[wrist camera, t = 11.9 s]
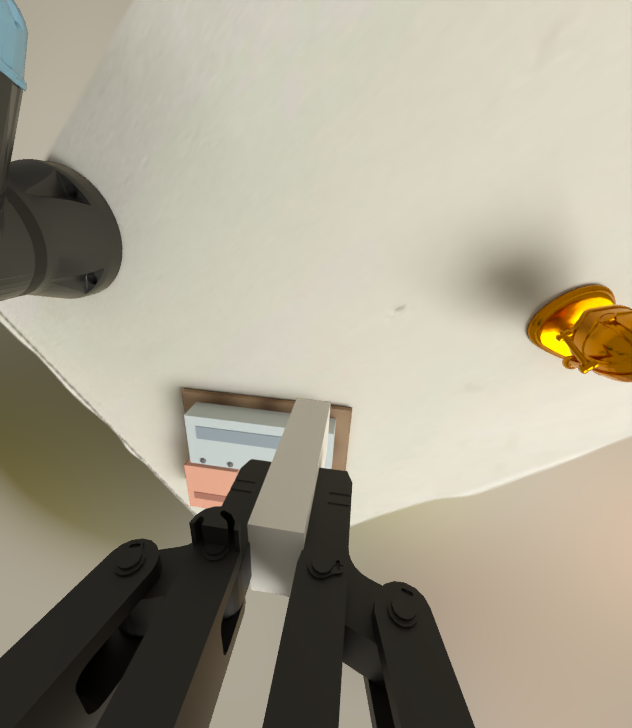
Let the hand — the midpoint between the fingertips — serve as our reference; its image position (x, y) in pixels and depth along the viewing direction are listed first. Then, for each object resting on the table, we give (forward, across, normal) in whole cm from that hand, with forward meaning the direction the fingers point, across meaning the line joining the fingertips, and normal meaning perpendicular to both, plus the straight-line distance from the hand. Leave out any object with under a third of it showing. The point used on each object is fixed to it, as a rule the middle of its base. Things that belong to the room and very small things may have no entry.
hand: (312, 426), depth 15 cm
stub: (+26, -17, -29) cm, 42 cm away
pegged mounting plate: (+26, -10, -20) cm, 35 cm away
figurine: (+27, +25, -1) cm, 37 cm away
